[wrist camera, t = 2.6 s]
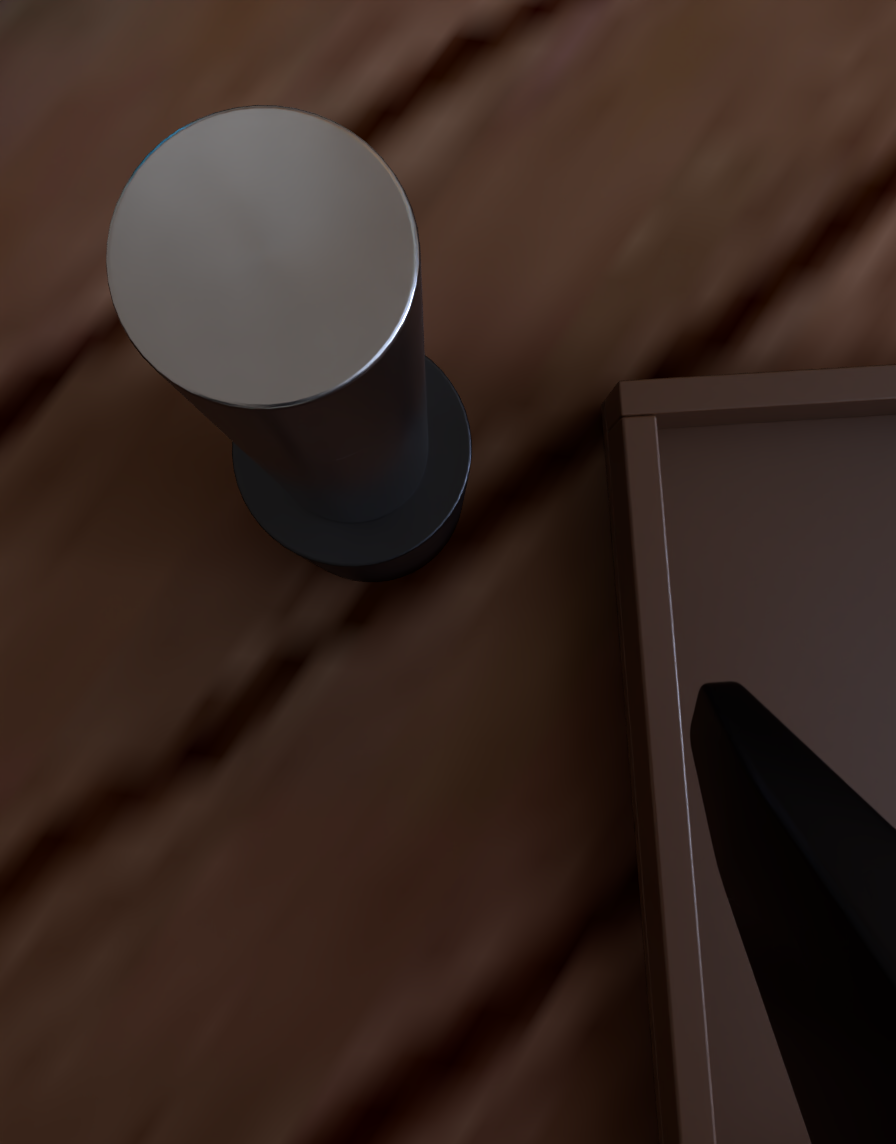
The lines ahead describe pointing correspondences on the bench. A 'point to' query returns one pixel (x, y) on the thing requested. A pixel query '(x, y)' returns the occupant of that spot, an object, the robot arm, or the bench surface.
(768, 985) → the robot arm
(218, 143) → the dark cylinder
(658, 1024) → the tray
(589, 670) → the bench surface
